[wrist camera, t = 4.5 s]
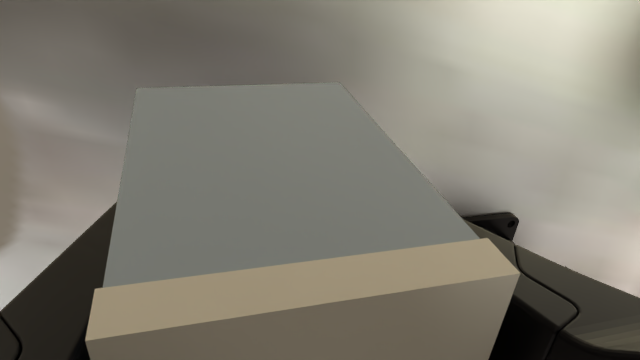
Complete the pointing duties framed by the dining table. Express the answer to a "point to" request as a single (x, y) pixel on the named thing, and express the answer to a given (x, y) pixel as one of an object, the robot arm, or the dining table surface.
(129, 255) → the grey and beige block
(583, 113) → the dining table surface
